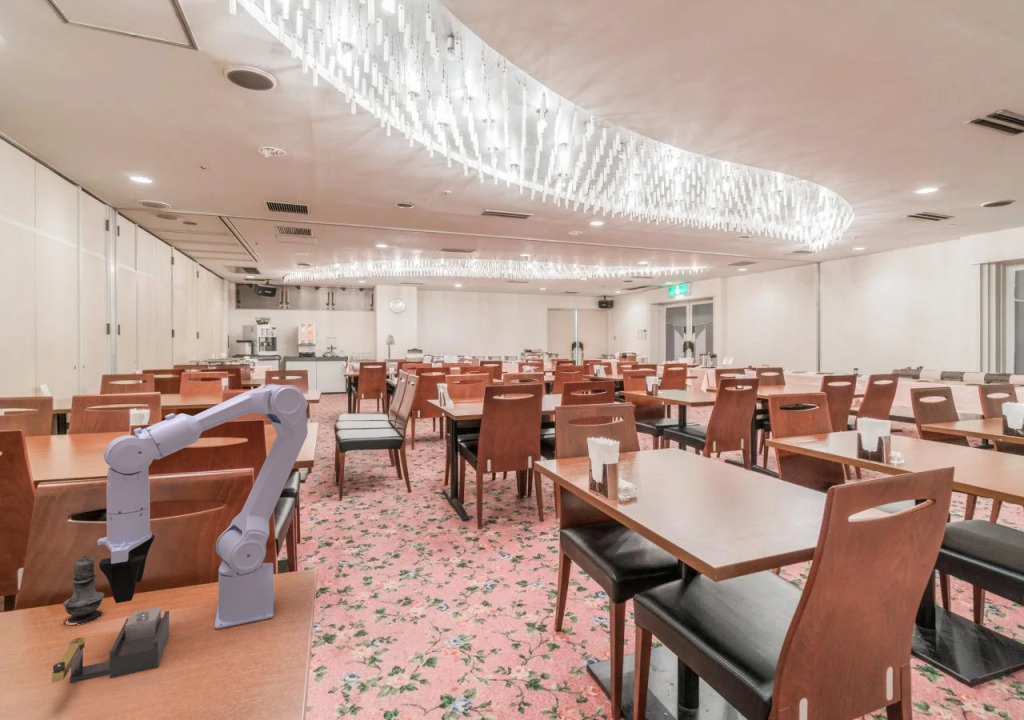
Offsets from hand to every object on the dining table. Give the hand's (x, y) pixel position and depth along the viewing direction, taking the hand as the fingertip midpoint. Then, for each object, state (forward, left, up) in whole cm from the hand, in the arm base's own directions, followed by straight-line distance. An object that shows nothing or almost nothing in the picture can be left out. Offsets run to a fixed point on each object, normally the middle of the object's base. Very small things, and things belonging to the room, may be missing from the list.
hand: (129, 591), depth 83 cm
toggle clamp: (+1, +2, -10) cm, 10 cm away
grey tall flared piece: (+10, -17, -10) cm, 22 cm away
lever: (+5, +9, -5) cm, 12 cm away
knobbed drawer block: (-2, +1, -7) cm, 7 cm away
